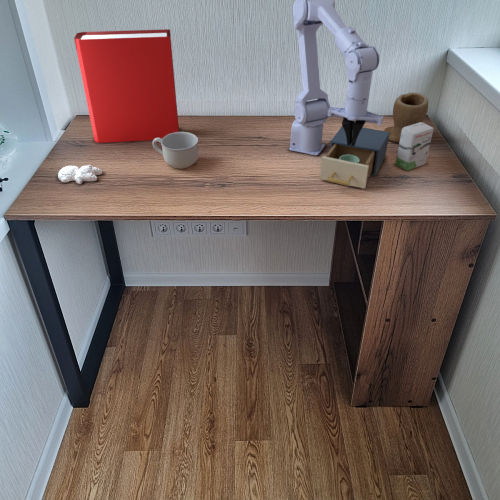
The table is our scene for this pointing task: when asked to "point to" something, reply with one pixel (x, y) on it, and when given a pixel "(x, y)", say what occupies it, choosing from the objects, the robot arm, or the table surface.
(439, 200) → the table surface
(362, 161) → the drawer
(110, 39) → the book
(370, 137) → the cabinet
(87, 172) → the white plush toy
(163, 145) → the teacup
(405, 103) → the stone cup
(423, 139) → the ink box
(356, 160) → the cup
